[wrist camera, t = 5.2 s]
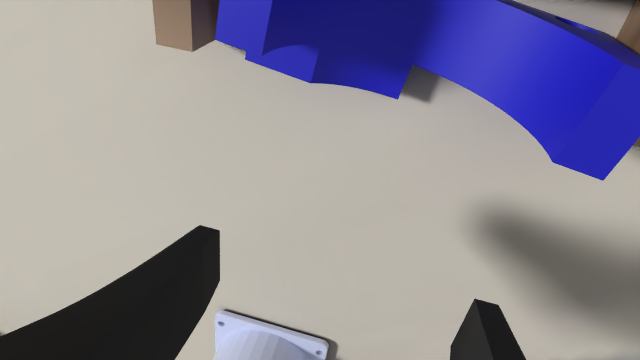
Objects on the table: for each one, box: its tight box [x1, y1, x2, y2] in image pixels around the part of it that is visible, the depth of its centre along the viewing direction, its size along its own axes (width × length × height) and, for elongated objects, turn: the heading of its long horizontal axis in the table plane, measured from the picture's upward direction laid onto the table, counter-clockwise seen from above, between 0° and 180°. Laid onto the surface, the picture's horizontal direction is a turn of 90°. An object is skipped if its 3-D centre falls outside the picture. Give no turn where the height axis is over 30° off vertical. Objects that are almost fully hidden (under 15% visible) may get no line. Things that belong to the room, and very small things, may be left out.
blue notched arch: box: [215, 0, 640, 180], centre depth 14 cm, size 12×4×6 cm, turn 74°
